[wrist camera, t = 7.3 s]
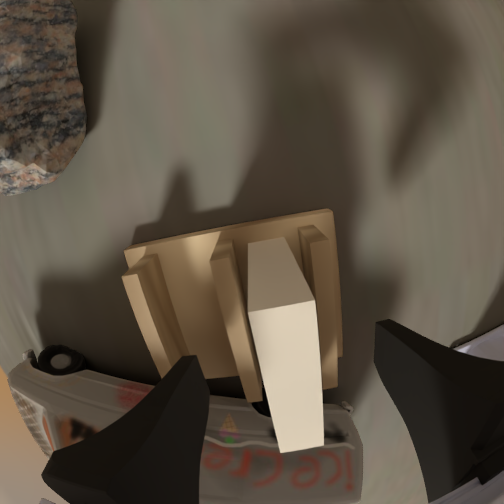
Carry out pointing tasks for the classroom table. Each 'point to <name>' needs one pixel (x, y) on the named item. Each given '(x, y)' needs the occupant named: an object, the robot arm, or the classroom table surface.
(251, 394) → the rack
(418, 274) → the classroom table surface
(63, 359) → the toy car
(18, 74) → the stone
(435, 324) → the classroom table surface
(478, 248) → the classroom table surface
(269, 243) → the tall cream block
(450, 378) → the robot arm
